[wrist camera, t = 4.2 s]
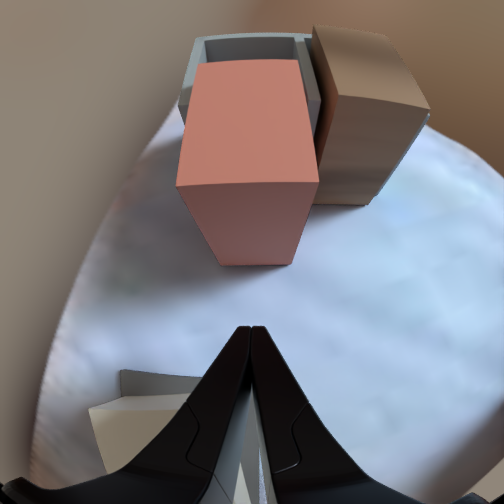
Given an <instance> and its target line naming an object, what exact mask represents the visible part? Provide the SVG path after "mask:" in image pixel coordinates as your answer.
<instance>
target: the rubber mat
mask: <svg viewBox="0 0 504 504" xmlns="http://www.w3.org/2000/svg"><path fill="white" fill-rule="evenodd" d="M120 376H121V398H122V397H124V396H155V395H173V394H186V393H191V392H192V391H193V390H194V388H195V387H196V385H197V384H198V383H199V381H200V380H201V378H202V377H191V376H178V375H167V374H157V373H149V372H141V371H133V370H126V369H124V370H120ZM240 463H241V467H242V471H243V475H244V479H245V483H246V487H247V490H248V494H249V498H250V502H251V504H259V440H258V433H257V425H256V418H255V410H254V402H253V393H252V392H251V399H250V406H249V412H248V418H247V424H246V430H245V436H244V442H243V448H242V454H241V460H240Z"/></svg>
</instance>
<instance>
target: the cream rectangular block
mask: <svg viewBox="0 0 504 504" xmlns="http://www.w3.org/2000/svg"><path fill="white" fill-rule="evenodd" d="M190 394H191V393H186V394H173V395H155V396H124V397H122V398H119V399H116V400H113V401H110V402H107V403H104V404H101V405H98V406H95V407H92V408H89V409H88V410H89V414H90V418H91V422H92V426H93V430H94V434H95V437H96V441H97V444H98V448H99V451H100V454H101V457H102V460H103V463H104V466H105V469H106V472H107V474H110V473H113V472H115V471H117V470H119V469H120V468H122V467H123V466H125V465H126V464H127V463H129V462H130V461H131V460H132V459H133V458H134V457H135V456H136V455H137V454H138V453H139V452H140V451H141V450H142V449H143V448H144V447H145V446H146V445H147V444H148V443H149V442H150V441H151V440H152V439H153V438H154V437H155V436H156V435H157V434H158V433H159V432H160V431H161V430H162V429H163V428H164V427H165V426H166V425H167V424H168V422H169V421H170V420H171V419H172V418H173V416H174V415H175V414H176V412H177V411H178V410H179V409H180V407H181V406H182V404H183V403H184V402H186V399H187V398H188V396H189V395H190ZM233 504H251V502H250V498H249V494H248V490H247V487H246V483H245V479H244V475H243V471H242V467H241V463H240V466H239V472H238V477H237V483H236V489H235V494H234V500H233Z"/></svg>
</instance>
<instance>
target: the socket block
mask: <svg viewBox="0 0 504 504" xmlns="http://www.w3.org/2000/svg"><path fill="white" fill-rule="evenodd" d="M311 40H312V34H298V33H243V34H227V35H216V36H206V37H198V38H196V40H195V44H194V47H193V50H192V54H191V57H190V60H189V64H188V67H187V71H186V75H185V78H184V82H183V86H182V90H181V94H180V98H179V102H178V108H179V111H180V114H181V117H182V119H183V122H184V125H185V123H186V118H187V112H188V107H189V102H190V97H191V93H192V88H193V83H194V79H195V74H196V70H197V66H198V64H201V63H210V62H221V61H235V60H260V59H285V60H298V64H299V69H300V73H301V78H302V82H303V87H304V92H305V97H306V103H307V108H308V113H309V119H310V124H311V130H312V136H313V137H314V132H315V128H316V123H317V118H318V113H319V108H320V103H321V98H320V94H319V90H318V86H317V82H316V79H315V75H314V71H313V68H312V64H311V61H310V49H311ZM429 117H430V115H429V113H428V115H427V116H426V118H425V120H424V121H423V123H422V125H421V126H420V128H419V129H418V131H417V133H416V134H415V136H414V137H413V139H412V141H411V142H410V144H409V145H408V147H407V148H406V150H405V151H404V153H403V155H402V156H401V158H400V159H399V161H398V162H397V164H396V165H395V167H394V168H393V170H392V171H391V173H390V174H389V176H388V177H387V179H386V180H385V181H384V183H383V184H382V186H381V187H380V189H379V190H378V192H377V193H376V194H375V195H378V194H379V192H380V191H381V189H382V188H383V187H384V185H385V184H386V182H387V181H388V179H389V178H390V177H391V175H392V174H393V172H394V171H395V169H396V168H397V166H398V165H399V163H400V162H401V160H402V159H403V157H404V156H405V154H406V153H407V151H408V150H409V148H410V147H411V145H412V144H413V142H414V141H415V139H416V138H417V136H418V135H419V133H420V131H421V130H422V128H423V127H424V125H425V123H426V122H427V120H428V118H429Z"/></svg>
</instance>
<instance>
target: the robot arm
mask: <svg viewBox="0 0 504 504" xmlns="http://www.w3.org/2000/svg"><path fill="white" fill-rule="evenodd" d="M251 392H252V393H253V402H254V410H255V418H256V425H257V433H258V440H259V448H260V455H261V462H262V469H263V476H264V483H265V490H266V497H267V504H425V503H422V502H420V501H417V500H415V499H413V498H411V497H408V496H406V495H404V494H402V493H400V492H397V491H395V490H393V489H391V488H389V487H387V486H385V485H383V484H381V483H379V482H377V481H376V480H374V479H373V478H371V477H370V476H369V475H367V474H366V473H365V472H364V471H363V470H362V469H361V468H360V467H359V466H358V465H357V464H356V463H355V461H354V460H353V459H352V458H351V457H350V456H349V455H348V453H347V452H346V451H345V450H344V449H343V448H342V446H341V445H340V444H339V443H338V442H337V441H336V439H335V438H334V437H333V436H332V434H331V433H330V432H329V431H328V429H327V428H326V427H325V426H324V424H323V423H322V421H321V420H320V418H319V416H318V415H317V413H316V412H315V410H314V409H313V407H312V405H311V404H310V403H309V401H308V399H307V397H306V395H305V394H304V392H303V390H302V389H301V387H300V385H299V384H298V382H297V380H296V379H295V377H294V375H293V374H292V372H291V370H290V368H289V367H288V365H287V363H286V362H285V360H284V358H283V356H282V355H281V353H280V351H279V350H278V348H277V346H276V344H275V343H274V341H273V339H272V337H271V336H270V334H269V332H268V330H267V329H266V327H265V326H253V327H252V328H251V327H250V326H239V327H237V329H236V330H235V332H234V333H233V334H232V336H231V337H230V339H229V340H228V342H227V343H226V344H225V346H224V347H223V349H222V350H221V352H220V353H219V354H218V356H217V357H216V359H215V360H214V362H213V363H212V364H211V366H210V367H209V369H208V370H207V371H206V373H205V374H204V376H203V377H202V378H201V380H200V381H199V383H198V384H197V385H196V387H195V388H194V390H193V391H192V392H191V394H190V395H189V396H188V398H187V399H186V402H184V403H183V404H182V406H181V407H180V409H179V410H178V411H177V412H176V414H175V415H174V416H173V418H172V419H171V420H170V421H169V422H168V424H167V425H166V426H165V427H164V428H163V429H162V430H161V431H160V432H159V433H158V434H157V435H156V436H155V437H154V438H153V439H152V440H151V441H150V442H149V443H148V444H147V445H146V446H145V447H144V448H143V449H142V450H141V451H140V452H139V453H138V454H137V455H136V456H135V457H134V458H133V459H132V460H131V461H130V462H129V463H127V464H126V465H125V466H123V467H122V468H120V469H119V470H117V471H115V472H113V473H110V474H107V475H105V476H102V477H99V478H96V479H93V480H90V481H86V482H83V483H80V484H76V485H73V486H69V487H66V488H62V489H44V488H41V487H38V486H37V485H35V484H33V483H32V482H30V481H28V480H27V479H25V478H23V477H19V478H17V479H14V480H12V481H10V482H8V483H6V484H5V485H3V484H2V483H0V504H233V500H234V494H235V489H236V483H237V477H238V472H239V466H240V460H241V454H242V448H243V442H244V436H245V430H246V424H247V418H248V412H249V406H250V399H251ZM449 504H504V494H502V495H501V496H499V497H497V498H496V499H494V500H493V501H491V502H490V503H489V502H487V501H486V500H485V499H483V498H482V497H480V496H479V495H477V494H475V493H469V494H467V495H465V496H463V497H461V498H459V499H457V500H455V501H453V502H451V503H449Z"/></svg>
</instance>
